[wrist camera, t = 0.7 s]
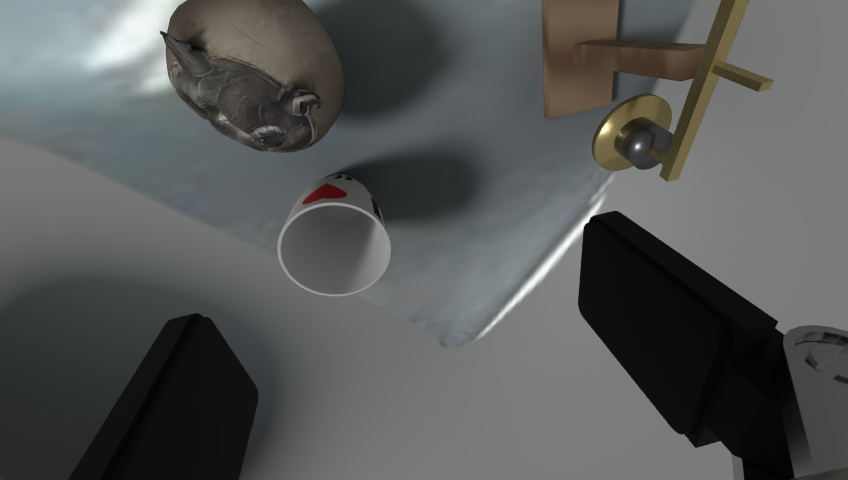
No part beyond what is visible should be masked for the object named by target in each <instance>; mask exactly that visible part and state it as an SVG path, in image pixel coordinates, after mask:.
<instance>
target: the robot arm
mask: <svg viewBox="0 0 848 480" xmlns="http://www.w3.org/2000/svg"><path fill="white" fill-rule="evenodd" d="M578 306H579V310H580V312H581V315H582V316H583V318H584V319H585V320H586V321H587V323H588V324H589V325H590V326H591V328H592V329H593V330H594V331H595V332H596V334H597V335H598V336H599V337H600V339H601V340H602V341H603V343H604V344H605V345H606V346H607V348H608V349H609V350H610V351H611V353H612V354H613V355H614V356H615V358H616V359H617V360H618V361H619V363H620V364H621V365H622V366H623V368H624V369H625V370H626V371H627V372H628V374H629V375H630V376H631V378H632V379H633V380H634V381H635V383H636V384H637V385H638V386H639V388H640V389H641V390H642V391H643V392H644V393H645V395H646V396H647V398H648V399H649V400H650V401H651V403H652V404H653V405H654V406H655V407H656V409H657V410H658V411H659V412H660V414H661V415H662V416H663V418H664V419H665V420H666V421H667V423H668V424H669V425H670V426H671V427H672V428H673V430H675V431H676V432H677V433H679V434H685V436H686V437H687V438H688V439H689V441H690V442H691V443H692V444H693V445H694V446H695V448H697V447H701V446H704V445H708V444H711V443H715V442H718V441H721V442H722V443H723V444H724V445H725V446H726V447H727V449H728V450H729V451H730V452H731V454H732V465H733V475H734V480H848V331H844V330H840V329H836V328H833V327H826V326H817V325H816V326H815V325H811V326H799V327H796V328H794V329H791V330H789V331H788V332H787V333H786V335H783V334H782V333H781V332H779V331H778V330H777V329H775V327H776V325H777V323H778V321H777V320H775V319H774V318H772V317H771V316H769V315H768V314H766V313H765V312H764V311H762V310H761V309H759V308H758V307H756V306H755V305H753V304H752V303H750V302H749V301H747V300H746V299H745V298H743V297H741V296H740V295H739V294H738V293H736V292H735V291H733V290H732V289H730V288H729V287H727V286H726V285H724V284H723V283H722V282H720V281H719V280H717V279H716V278H714V277H713V276H711V275H710V274H708V273H707V272H706V271H704V270H703V269H701V268H700V267H698V266H697V265H695V264H694V263H693V262H691V261H690V260H688V259H687V258H685V257H684V256H682V255H681V254H680V253H678V252H676V251H675V250H674V249H672V248H671V247H669V246H668V245H666V244H665V243H664V242H662V241H661V240H659V239H658V238H656V237H655V236H653V235H652V234H651V233H649V232H648V231H646V230H645V229H643V228H642V227H640V226H639V225H638V224H636V223H635V222H633V221H632V220H630V219H629V218H627V217H626V216H624V215H623V214H622V213H620V212H618V211H612V212H607V213H603V214H599V215H595V216H593V217H591V219H590V220H589V223H587V224H585V226H584V231H583V245H582V258H581V272H580V286H579V297H578ZM257 404H258V390H257V388H256V385H255V384H254V383H253V381H252V379H251V378H250V376H249V375H248V374H247V372H246V371H245V369H244V368H243V366H242V365H241V363H240V362H239V360H238V359H237V357H236V356H235V354H234V353H233V351H232V350H231V348H230V347H229V345H228V344H227V342H226V341H225V339H224V338H223V336H222V335H221V333H220V332H219V330H218V329H217V327H216V326H215V324H214V323H213V321H212V320H211V319H210V318H208V317H203V316H202V315H200V314H198V313H195V314H190V315H186V316H182V317H178V318H174V319H171V320H169V321H168V322H167V323H166V324H165V326H164V327H163V329H162V330H161V332H160V334H159V335H158V337H157V339H156V340H155V342H154V343H153V345H152V346H151V348H150V350H149V351H148V353H147V355H146V356H145V358H144V359H143V361H142V362H141V364H140V366H139V367H138V369H137V370H136V372H135V374H134V375H133V377H132V378H131V380H130V382H129V383H128V385H127V387H126V388H125V390H124V391H123V393H122V395H121V396H120V398H119V399H118V401H117V402H116V404H115V406H114V407H113V409H112V410H111V412H110V414H109V415H108V417H107V418H106V420H105V422H104V423H103V425H102V427H101V428H100V430H99V431H98V433H97V435H96V436H95V438H94V439H93V441H92V443H91V444H90V446H89V447H88V449H87V450H86V452H85V454H84V455H83V457H82V458H81V460H80V462H79V463H78V465H77V466H76V468H75V470H74V471H73V473H72V474H71V476H70V478H69V479H68V480H239V476H240V472H241V468H242V464H243V460H244V456H245V452H246V448H247V444H248V440H249V436H250V432H251V427H252V424H253V420H254V416H255V412H256V408H257Z"/></svg>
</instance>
